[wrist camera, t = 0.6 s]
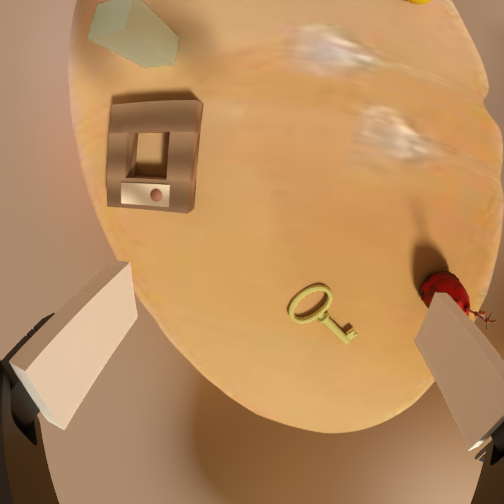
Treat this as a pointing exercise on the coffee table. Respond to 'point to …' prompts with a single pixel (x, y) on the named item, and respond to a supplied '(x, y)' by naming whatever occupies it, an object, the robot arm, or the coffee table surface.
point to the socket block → (179, 155)
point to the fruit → (419, 1)
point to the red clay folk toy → (448, 292)
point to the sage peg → (134, 33)
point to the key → (319, 313)
